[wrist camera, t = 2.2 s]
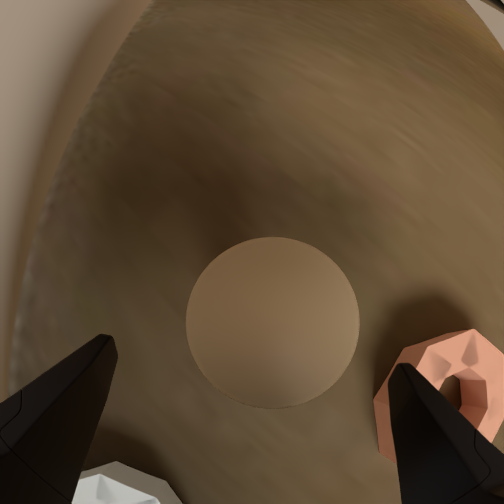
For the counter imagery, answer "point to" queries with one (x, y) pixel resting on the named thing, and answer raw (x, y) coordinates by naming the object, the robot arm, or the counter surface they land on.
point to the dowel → (272, 322)
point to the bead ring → (464, 368)
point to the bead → (122, 487)
